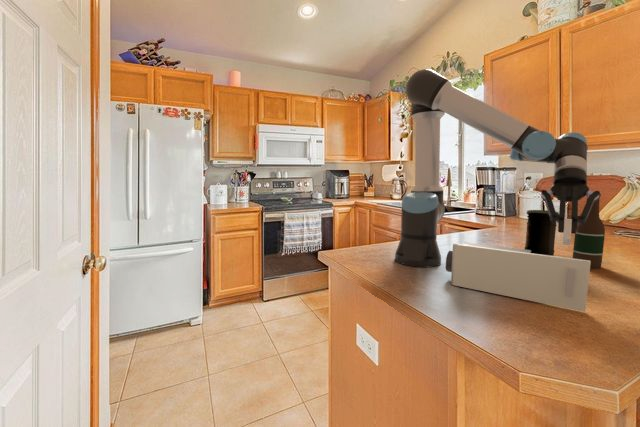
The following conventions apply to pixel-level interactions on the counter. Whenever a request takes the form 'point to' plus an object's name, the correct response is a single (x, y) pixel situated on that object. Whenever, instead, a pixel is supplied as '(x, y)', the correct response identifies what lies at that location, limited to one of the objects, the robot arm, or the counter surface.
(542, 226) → the container
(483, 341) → the counter surface
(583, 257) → the beer bottle
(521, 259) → the side door
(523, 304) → the counter surface
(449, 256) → the camera case
